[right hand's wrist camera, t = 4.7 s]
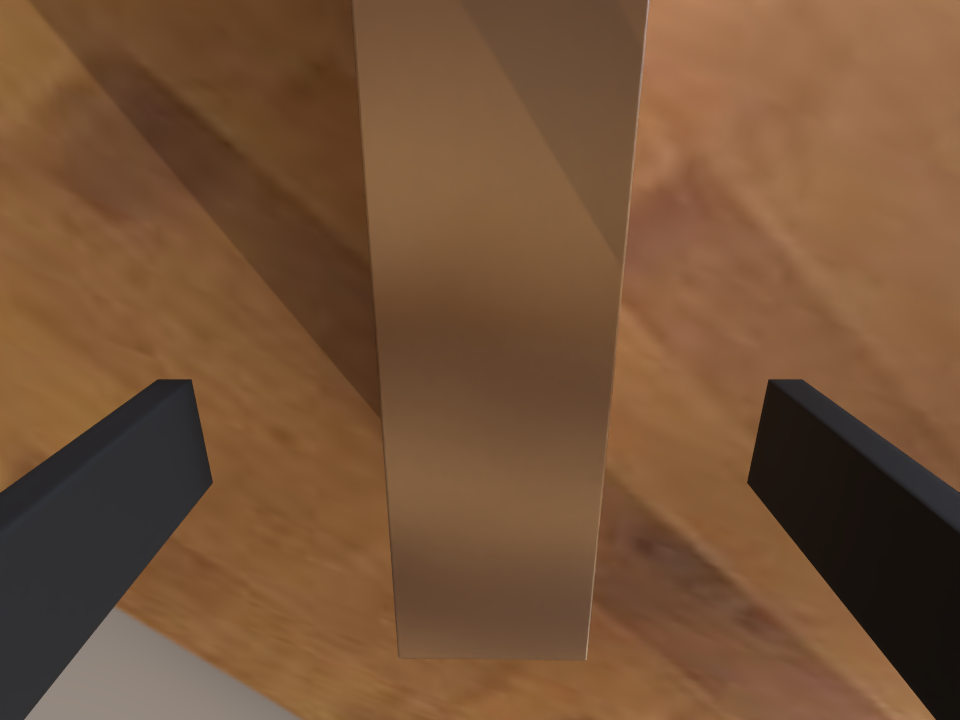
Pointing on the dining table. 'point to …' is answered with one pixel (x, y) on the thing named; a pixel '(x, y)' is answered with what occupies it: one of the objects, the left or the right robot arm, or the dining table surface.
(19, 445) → the dining table surface
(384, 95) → the post
